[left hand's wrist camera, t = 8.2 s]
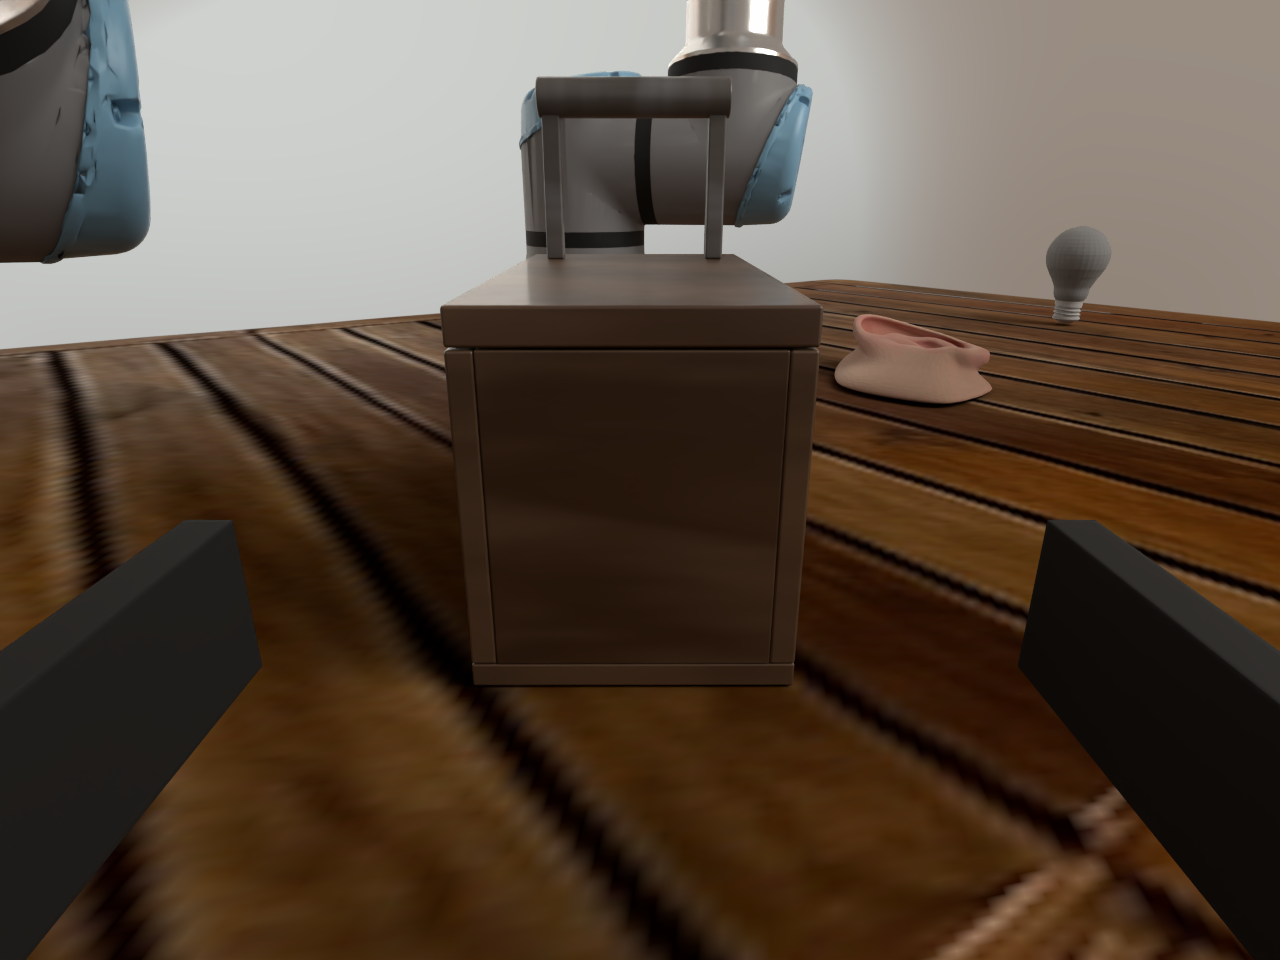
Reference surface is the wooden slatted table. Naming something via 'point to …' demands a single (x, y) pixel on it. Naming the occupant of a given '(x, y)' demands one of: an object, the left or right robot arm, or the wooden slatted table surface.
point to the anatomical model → (912, 363)
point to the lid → (632, 283)
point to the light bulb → (1075, 268)
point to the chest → (632, 511)
